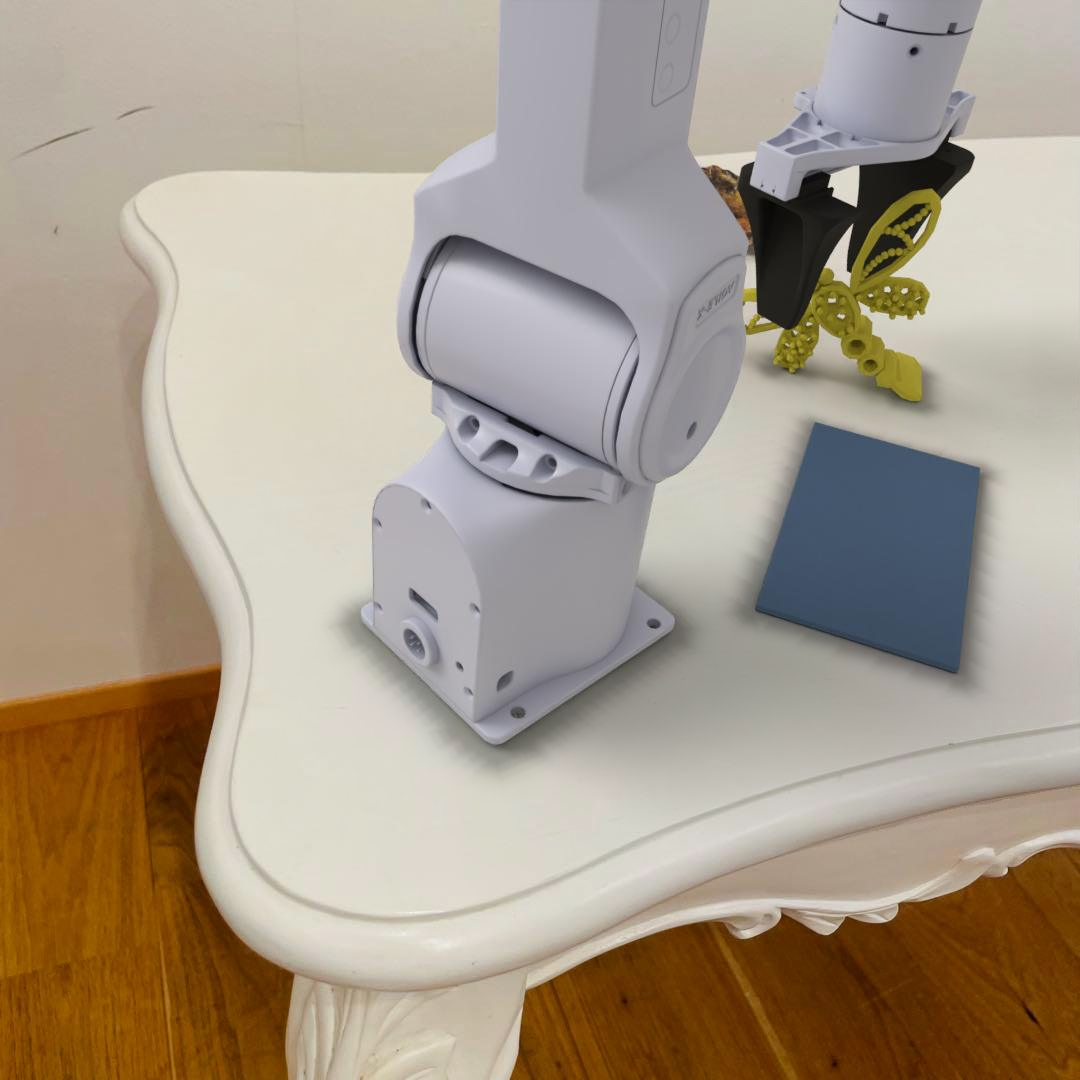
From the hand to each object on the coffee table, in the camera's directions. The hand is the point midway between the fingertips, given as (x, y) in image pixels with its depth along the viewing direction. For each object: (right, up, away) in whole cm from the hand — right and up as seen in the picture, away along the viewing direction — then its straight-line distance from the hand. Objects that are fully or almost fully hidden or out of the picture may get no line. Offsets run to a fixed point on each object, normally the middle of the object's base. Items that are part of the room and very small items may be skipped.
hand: (822, 297), depth 56 cm
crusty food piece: (-2, +8, +15) cm, 18 cm away
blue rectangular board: (0, -12, -7) cm, 14 cm away
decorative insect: (0, -3, +3) cm, 4 cm away
